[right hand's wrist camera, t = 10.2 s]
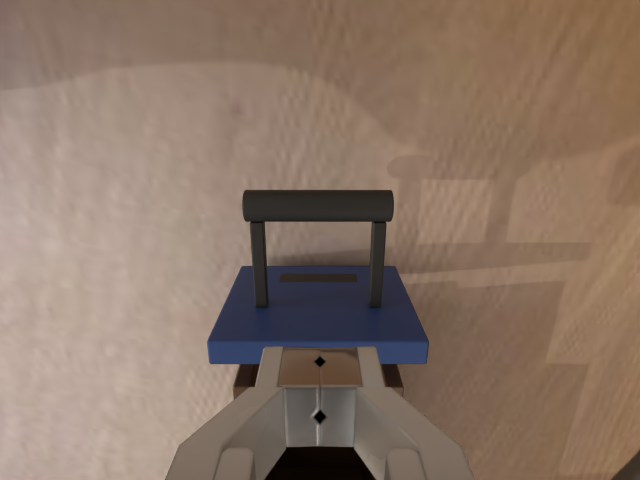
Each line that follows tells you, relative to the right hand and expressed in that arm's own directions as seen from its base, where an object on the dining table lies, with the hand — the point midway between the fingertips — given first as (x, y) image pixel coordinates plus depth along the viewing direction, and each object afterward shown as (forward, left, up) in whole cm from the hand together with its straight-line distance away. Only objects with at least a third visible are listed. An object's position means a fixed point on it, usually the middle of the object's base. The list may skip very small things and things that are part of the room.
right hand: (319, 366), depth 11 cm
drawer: (+8, -1, -13) cm, 15 cm away
